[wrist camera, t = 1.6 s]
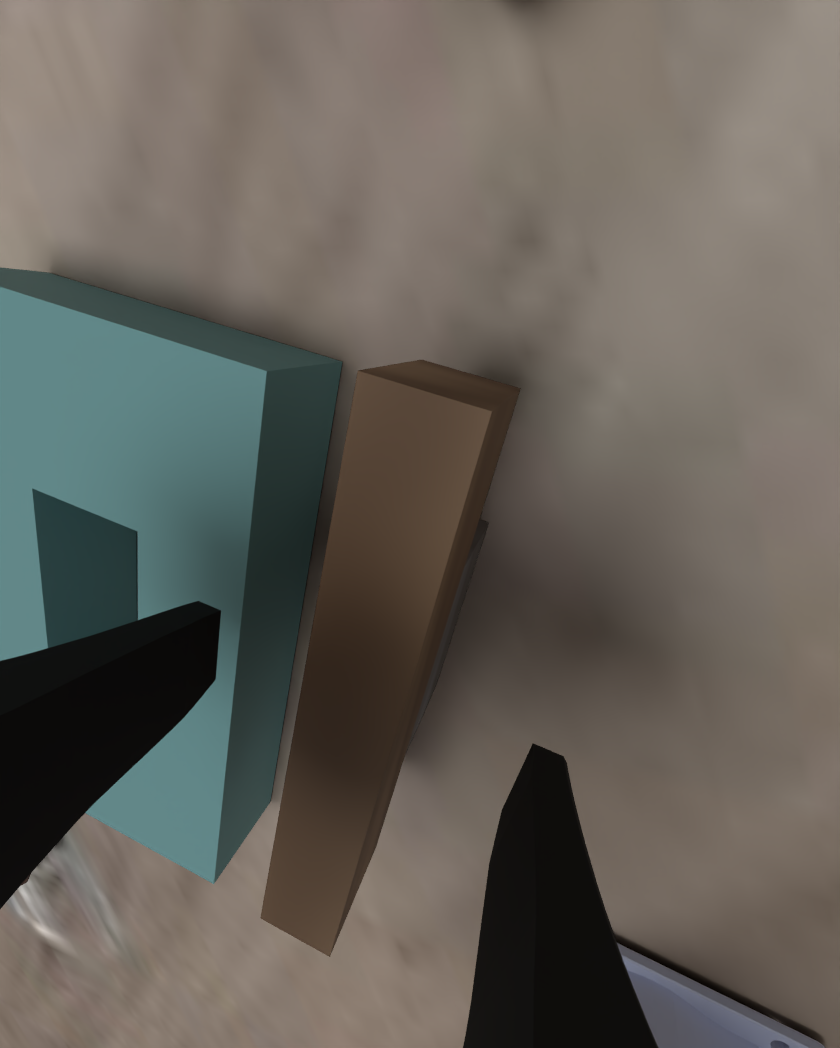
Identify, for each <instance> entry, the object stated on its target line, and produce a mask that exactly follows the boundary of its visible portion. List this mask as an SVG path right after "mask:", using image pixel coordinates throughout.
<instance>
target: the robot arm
mask: <svg viewBox="0 0 840 1048" xmlns="http://www.w3.org/2000/svg"><path fill="white" fill-rule="evenodd" d="M220 619H221V610H219V609H217V608H214V607H212V606H209V605H207V604H205V603H202V602H200V601H196V602H192V603H189V604H185V605H182V606H179V607H176V608H173V609H170V610H167V611H164V612H161V613H158V614H155V615H152V616H149V617H146V618H143V619H140V620H137V621H134V622H131V623H128V624H125V625H122V626H119V627H116V628H113V629H110V630H106V631H103V632H100V633H97V634H94V635H91V636H88V637H84V638H81V639H78V640H74V641H71V642H67V643H64V644H60V645H57V646H53V647H50V648H47V649H43V650H40V651H36V652H33V653H29V654H25V655H22V656H18V657H14V658H10V659H6V660H2V661H0V909H1V907H2V906H3V905H4V904H5V903H6V902H7V900H8V899H9V898H10V897H11V896H12V895H13V893H14V892H15V891H16V890H17V889H18V888H19V886H20V885H21V884H22V883H23V882H24V881H25V879H26V878H27V877H28V876H29V875H30V874H31V872H32V871H33V870H34V869H35V868H36V866H37V865H38V864H39V863H40V862H41V861H42V860H43V859H44V858H45V856H46V855H47V854H48V853H49V852H50V851H51V850H52V849H53V847H54V846H55V845H56V844H57V843H58V842H59V841H60V840H61V838H62V837H63V836H64V835H65V834H66V833H67V832H68V831H69V830H70V828H71V827H72V826H73V825H74V824H75V823H76V822H77V821H78V820H79V819H80V818H81V816H82V815H83V814H84V813H85V812H86V811H87V810H88V809H89V808H90V807H91V806H92V805H93V804H94V803H95V802H96V801H97V800H98V799H99V798H100V797H101V796H103V795H104V794H105V793H106V792H107V791H108V790H109V789H110V788H111V787H112V786H113V785H114V784H115V783H116V782H117V781H118V780H119V779H120V778H122V777H123V776H124V775H125V774H126V773H127V772H128V771H129V770H130V769H131V768H132V767H133V766H134V765H135V764H136V763H137V762H138V761H140V760H141V759H142V758H143V757H144V756H145V755H146V754H147V753H148V752H149V751H150V750H151V749H152V748H153V747H154V746H155V745H156V744H157V743H159V742H160V741H161V740H162V739H163V738H164V737H165V736H166V735H167V734H168V733H169V732H170V731H171V730H172V729H173V728H174V727H175V726H176V725H177V724H178V723H179V722H180V721H181V720H182V719H183V718H184V717H185V716H186V715H187V714H188V713H189V711H190V710H191V709H192V708H193V707H194V706H195V704H196V703H197V702H198V701H199V700H200V698H201V697H202V696H203V695H204V693H205V692H206V691H207V690H208V689H209V687H210V686H211V685H212V684H213V682H214V681H215V680H216V670H217V657H218V644H219V632H220ZM463 1048H825V1047H824V1045H822V1044H821V1043H819V1042H818V1041H816V1040H814V1039H812V1038H810V1037H808V1036H806V1035H804V1034H802V1033H800V1032H798V1031H796V1030H794V1029H792V1028H790V1027H788V1026H786V1025H784V1024H781V1023H779V1022H777V1021H775V1020H773V1019H771V1018H769V1017H767V1016H765V1015H763V1014H761V1013H759V1012H757V1011H755V1010H753V1009H751V1008H749V1007H747V1006H745V1005H743V1004H741V1003H739V1002H737V1001H735V1000H733V999H731V998H729V997H726V996H724V995H722V994H720V993H718V992H716V991H714V990H712V989H710V988H708V987H706V986H704V985H702V984H700V983H698V982H696V981H694V980H692V979H690V978H688V977H686V976H684V975H682V974H680V973H678V972H676V971H673V970H671V969H669V968H667V967H665V966H663V965H661V964H659V963H657V962H655V961H653V960H651V959H649V958H647V957H645V956H643V955H641V954H639V953H637V952H635V951H633V950H631V949H629V948H627V947H625V946H623V945H620V944H618V943H617V942H616V939H615V936H614V933H613V930H612V928H611V925H610V922H609V919H608V916H607V913H606V910H605V907H604V904H603V901H602V898H601V895H600V891H599V888H598V885H597V882H596V878H595V875H594V872H593V868H592V865H591V861H590V858H589V855H588V851H587V848H586V844H585V841H584V837H583V833H582V829H581V825H580V821H579V817H578V813H577V809H576V805H575V801H574V797H573V792H572V788H571V783H570V778H569V773H568V768H567V763H566V761H565V759H564V757H563V756H561V755H559V754H557V753H554V752H552V751H550V750H547V749H545V748H543V747H540V746H538V745H536V744H532V747H531V749H530V751H529V753H528V755H527V757H526V760H525V762H524V764H523V766H522V768H521V770H520V772H519V775H518V777H517V779H516V781H515V783H514V785H513V788H512V790H511V792H510V794H509V796H508V798H507V800H506V803H505V805H504V807H503V809H502V812H501V816H500V820H499V825H498V829H497V833H496V837H495V841H494V846H493V850H492V854H491V859H490V863H489V870H488V877H487V885H486V892H485V900H484V907H483V915H482V923H481V930H480V938H479V946H478V954H477V961H476V969H475V977H474V984H473V992H472V1000H471V1006H470V1012H469V1018H468V1024H467V1030H466V1036H465V1041H464V1046H463Z"/></svg>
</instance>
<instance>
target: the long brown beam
mask: <svg viewBox="0 0 840 1048" xmlns="http://www.w3.org/2000/svg"><path fill="white" fill-rule="evenodd" d="M520 389H521V388H517V387H514V386H510V385H507V384H503V383H500V382H497V381H493V380H490V379H486V378H483V377H479V376H476V375H473V374H469V373H466V372H462V371H459V370H455V369H452V368H449V367H445V366H442V365H438V364H435V363H431V362H428V361H425V360H417V361H411V362H405V363H400V364H394V365H388V366H382V367H376V368H371V369H365V370H359V371H358V373H357V378H356V384H355V389H354V395H353V401H352V406H351V412H350V418H349V423H348V429H347V434H346V440H345V446H344V451H343V457H342V463H341V468H340V474H339V480H338V485H337V491H336V496H335V502H334V508H333V513H332V519H331V525H330V530H329V536H328V541H327V547H326V553H325V558H324V564H323V570H322V575H321V581H320V586H319V592H318V598H317V603H316V609H315V615H314V620H313V626H312V631H311V637H310V643H309V648H308V654H307V660H306V665H305V671H304V676H303V682H302V688H301V693H300V699H299V705H298V710H297V716H296V721H295V727H294V733H293V738H292V744H291V750H290V755H289V761H288V766H287V772H286V778H285V783H284V789H283V795H282V800H281V806H280V811H279V817H278V823H277V828H276V834H275V840H274V845H273V851H272V856H271V862H270V868H269V873H268V879H267V885H266V890H265V896H264V901H263V907H262V913H261V919H263V920H265V921H266V922H268V923H270V924H272V925H274V926H275V927H277V928H279V929H281V930H283V931H284V932H286V933H288V934H290V935H292V936H293V937H295V938H297V939H299V940H301V941H302V942H304V943H306V944H308V945H310V946H311V947H313V948H315V949H317V950H319V951H320V952H322V953H324V954H326V955H328V956H329V957H330V955H331V952H332V950H333V948H334V945H335V943H336V941H337V938H338V936H339V934H340V931H341V929H342V926H343V924H344V922H345V919H346V917H347V915H348V912H349V910H350V907H351V905H352V903H353V900H354V898H355V896H356V893H357V891H358V888H359V886H360V884H361V881H362V879H363V877H364V874H365V872H366V869H367V867H368V865H369V862H370V860H371V858H372V855H373V853H374V851H375V848H376V845H377V842H378V839H379V836H380V833H381V829H382V826H383V823H384V820H385V817H386V814H387V810H388V807H389V804H390V801H391V798H392V795H393V791H394V788H395V785H396V782H397V779H398V776H399V772H400V769H401V766H402V763H403V760H404V757H405V754H406V752H407V750H408V747H409V745H410V743H411V741H412V738H413V736H414V734H415V732H416V729H417V727H418V725H419V723H420V720H421V718H422V716H423V714H424V711H425V709H426V707H427V705H428V702H429V700H430V698H431V696H432V693H433V691H434V689H435V687H436V684H437V681H438V678H439V674H440V671H441V668H442V665H443V662H444V659H445V656H446V653H447V650H448V647H449V644H450V641H451V638H452V635H453V631H454V628H455V625H456V622H457V619H458V616H459V613H460V610H461V607H462V604H463V601H464V598H465V595H466V592H467V588H468V585H469V582H470V579H471V576H472V573H473V570H474V567H475V564H476V561H477V558H478V555H479V552H480V549H481V545H482V542H483V539H484V536H485V533H486V530H487V527H488V524H489V522H486V521H483V520H480V516H481V513H482V509H483V506H484V503H485V500H486V497H487V494H488V490H489V487H490V484H491V481H492V478H493V475H494V471H495V468H496V465H497V462H498V459H499V456H500V452H501V449H502V446H503V443H504V440H505V437H506V433H507V430H508V427H509V424H510V421H511V418H512V414H513V411H514V408H515V405H516V402H517V399H518V395H519V392H520Z"/></svg>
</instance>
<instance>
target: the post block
mask: <svg viewBox="0 0 840 1048" xmlns="http://www.w3.org/2000/svg"><path fill="white" fill-rule="evenodd" d="M341 367H342V361H339V360H335V359H332V358H329V357H325V356H322V355H319V354H316V353H312V352H309V351H306V350H302V349H299V348H296V347H292V346H289V345H286V344H282V343H279V342H276V341H273V340H269V339H266V338H263V337H259V336H256V335H253V334H249V333H246V332H243V331H239V330H236V329H233V328H230V327H226V326H223V325H220V324H216V323H213V322H210V321H206V320H203V319H200V318H197V317H193V316H190V315H187V314H183V313H180V312H177V311H173V310H170V309H167V308H163V307H160V306H157V305H154V304H150V303H147V302H144V301H140V300H137V299H134V298H130V297H127V296H124V295H120V294H117V293H114V292H111V291H107V290H104V289H101V288H97V287H94V286H91V285H87V284H84V283H81V282H77V281H74V280H71V279H68V278H64V277H61V276H58V275H54V274H51V273H47V272H38V271H28V270H19V269H9V268H0V661H2V660H6V659H10V658H14V657H18V656H22V655H25V654H29V653H33V652H36V651H40V650H43V649H47V648H50V647H53V646H57V645H60V644H64V643H67V642H71V641H74V640H78V639H81V638H84V637H88V636H91V635H94V634H97V633H100V632H103V631H106V630H110V629H113V628H116V627H119V626H122V625H125V624H128V623H131V622H134V621H137V569H136V531H138V620H140V619H143V618H146V617H149V616H152V615H155V614H158V613H161V612H164V611H167V610H170V609H173V608H176V607H179V606H182V605H185V604H189V603H192V602H196V601H200V602H202V603H205V604H207V605H209V606H212V607H214V608H217V609H219V610H221V619H220V632H219V644H218V657H217V670H216V680H215V681H214V682H213V684H212V685H211V686H210V687H209V689H208V690H207V691H206V692H205V693H204V695H203V696H202V697H201V698H200V700H199V701H198V702H197V703H196V704H195V706H194V707H193V708H192V709H191V710H190V711H189V713H188V714H187V715H186V716H185V717H184V718H183V719H182V720H181V721H180V722H179V723H178V724H177V725H176V726H175V727H174V728H173V729H172V730H171V731H170V732H169V733H168V734H167V735H166V736H165V737H164V738H163V739H162V740H161V741H160V742H159V743H157V744H156V745H155V746H154V747H153V748H152V749H151V750H150V751H149V752H148V753H147V754H146V755H145V756H144V757H143V758H142V759H141V760H140V761H138V762H137V763H136V764H135V765H134V766H133V767H132V768H131V769H130V770H129V771H128V772H127V773H126V774H125V775H124V776H123V777H122V778H120V779H119V780H118V781H117V782H116V783H115V784H114V785H113V786H112V787H111V788H110V789H109V790H108V791H107V792H106V793H105V794H104V795H103V796H101V797H100V798H99V799H98V800H97V801H96V802H95V803H94V804H93V805H92V806H91V807H90V808H89V809H88V810H87V811H86V812H85V813H86V814H88V815H90V816H92V817H93V818H95V819H97V820H99V821H101V822H103V823H104V824H106V825H108V826H110V827H112V828H113V829H115V830H117V831H119V832H121V833H122V834H124V835H126V836H128V837H130V838H131V839H133V840H135V841H137V842H139V843H141V844H142V845H144V846H146V847H148V848H150V849H151V850H153V851H155V852H157V853H159V854H160V855H162V856H164V857H166V858H168V859H169V860H171V861H173V862H175V863H177V864H179V865H180V866H182V867H184V868H186V869H188V870H189V871H191V872H193V873H195V874H197V875H198V876H200V877H202V878H204V879H206V880H207V881H209V882H211V883H213V884H214V883H215V882H216V880H217V879H218V877H219V876H220V874H221V873H222V872H223V870H224V869H225V867H226V866H227V864H228V863H229V861H230V860H231V858H232V857H233V855H234V854H235V853H236V851H237V850H238V848H239V847H240V845H241V844H242V842H243V841H244V839H245V838H246V837H247V835H248V834H249V832H250V831H251V829H252V828H253V826H254V825H255V823H256V822H257V820H258V819H259V818H260V816H261V815H262V813H263V812H264V810H265V809H266V807H267V806H268V804H269V803H270V801H271V795H272V789H273V783H274V776H275V770H276V764H277V758H278V752H279V746H280V740H281V734H282V728H283V721H284V715H285V709H286V703H287V697H288V691H289V685H290V679H291V673H292V667H293V660H294V654H295V648H296V642H297V636H298V630H299V624H300V618H301V612H302V605H303V599H304V593H305V587H306V581H307V575H308V569H309V563H310V557H311V551H312V544H313V538H314V532H315V526H316V520H317V514H318V508H319V502H320V496H321V489H322V483H323V477H324V471H325V465H326V459H327V453H328V447H329V441H330V435H331V428H332V422H333V416H334V410H335V404H336V398H337V392H338V386H339V380H340V373H341Z"/></svg>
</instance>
